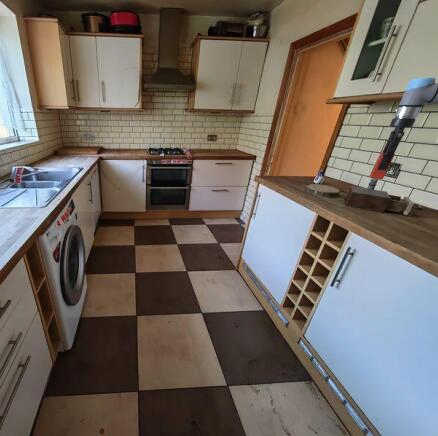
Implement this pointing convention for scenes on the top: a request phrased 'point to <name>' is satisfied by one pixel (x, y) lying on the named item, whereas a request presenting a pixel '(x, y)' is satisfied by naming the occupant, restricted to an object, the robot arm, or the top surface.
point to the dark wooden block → (367, 199)
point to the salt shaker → (372, 183)
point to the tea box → (376, 172)
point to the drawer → (401, 205)
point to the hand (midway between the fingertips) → (380, 168)
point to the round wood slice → (322, 190)
